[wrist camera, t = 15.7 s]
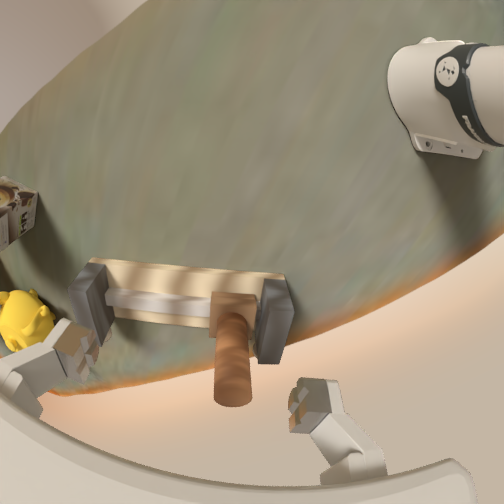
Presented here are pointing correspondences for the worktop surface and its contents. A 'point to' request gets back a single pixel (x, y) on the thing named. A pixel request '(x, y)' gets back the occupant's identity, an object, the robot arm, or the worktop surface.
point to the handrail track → (179, 286)
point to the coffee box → (15, 210)
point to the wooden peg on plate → (232, 346)
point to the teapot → (24, 319)
